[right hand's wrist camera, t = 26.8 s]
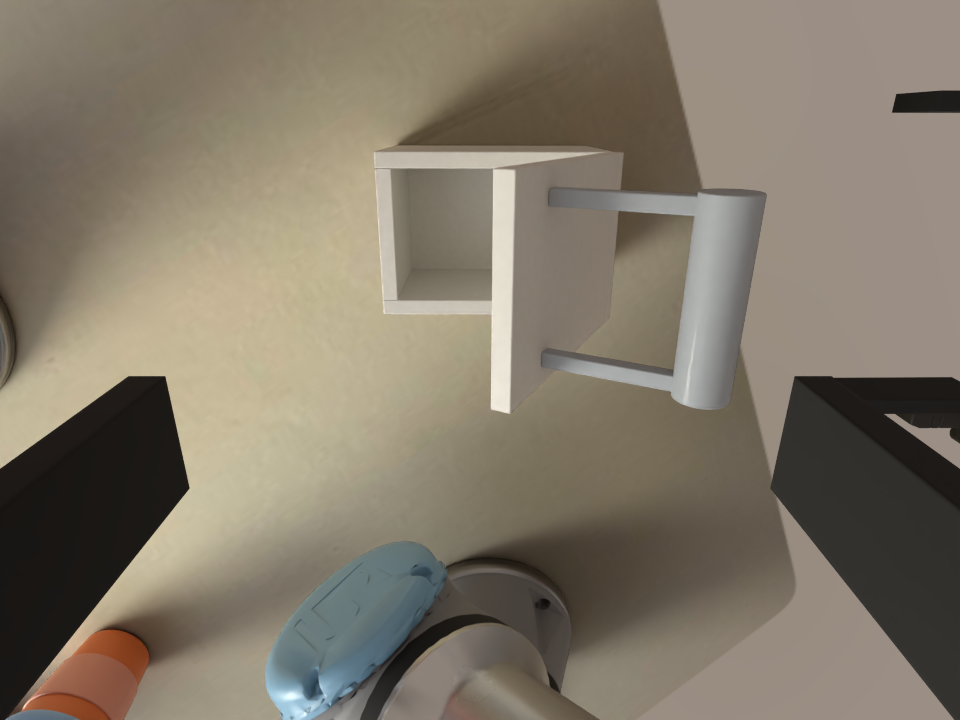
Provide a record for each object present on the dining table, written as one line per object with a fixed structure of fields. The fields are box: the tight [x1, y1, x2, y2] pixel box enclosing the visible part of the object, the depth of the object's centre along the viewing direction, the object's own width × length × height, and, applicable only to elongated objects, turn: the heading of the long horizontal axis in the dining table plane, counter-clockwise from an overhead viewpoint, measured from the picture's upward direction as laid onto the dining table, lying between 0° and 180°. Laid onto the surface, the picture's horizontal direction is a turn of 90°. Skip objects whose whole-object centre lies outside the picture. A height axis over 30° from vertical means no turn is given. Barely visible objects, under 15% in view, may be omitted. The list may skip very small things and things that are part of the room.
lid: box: [491, 152, 767, 414], centre depth 26 cm, size 14×9×9 cm
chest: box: [374, 145, 612, 314], centre depth 38 cm, size 13×9×9 cm
